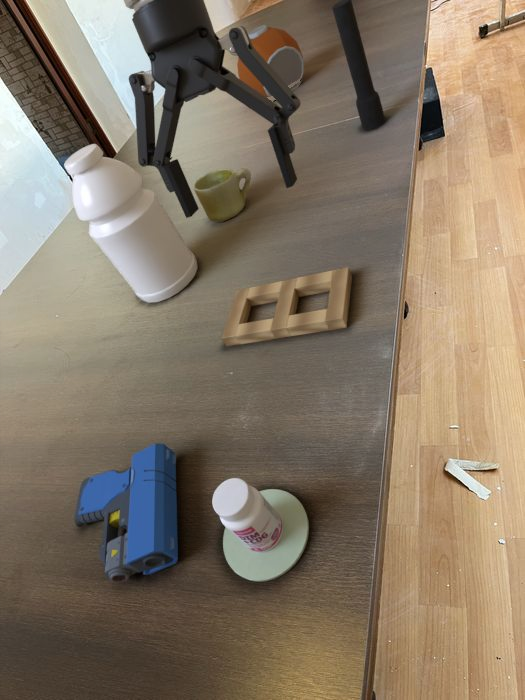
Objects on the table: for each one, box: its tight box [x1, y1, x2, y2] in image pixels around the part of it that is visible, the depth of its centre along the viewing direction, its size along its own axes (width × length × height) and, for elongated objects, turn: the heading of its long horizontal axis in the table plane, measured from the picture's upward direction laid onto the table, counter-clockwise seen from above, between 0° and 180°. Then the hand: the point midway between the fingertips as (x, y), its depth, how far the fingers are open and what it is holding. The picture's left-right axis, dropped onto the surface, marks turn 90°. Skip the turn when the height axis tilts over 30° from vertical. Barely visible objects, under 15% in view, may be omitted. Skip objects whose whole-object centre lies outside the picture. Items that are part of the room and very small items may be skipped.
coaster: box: [222, 488, 310, 583], centre depth 53 cm, size 10×10×1 cm
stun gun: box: [73, 443, 179, 583], centre depth 61 cm, size 4×16×15 cm
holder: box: [221, 266, 353, 347], centre depth 76 cm, size 20×11×2 cm, turn 79°
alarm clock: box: [236, 24, 305, 98], centre depth 141 cm, size 19×18×17 cm
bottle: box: [63, 143, 198, 304], centre depth 90 cm, size 14×14×28 cm
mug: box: [193, 168, 252, 223], centre depth 106 cm, size 12×10×10 cm
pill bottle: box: [211, 477, 283, 552], centre depth 50 cm, size 5×5×8 cm
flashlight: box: [331, 0, 386, 131], centre depth 100 cm, size 5×24×5 cm
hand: (240, 199), depth 60 cm, fingers open, 13 cm apart
